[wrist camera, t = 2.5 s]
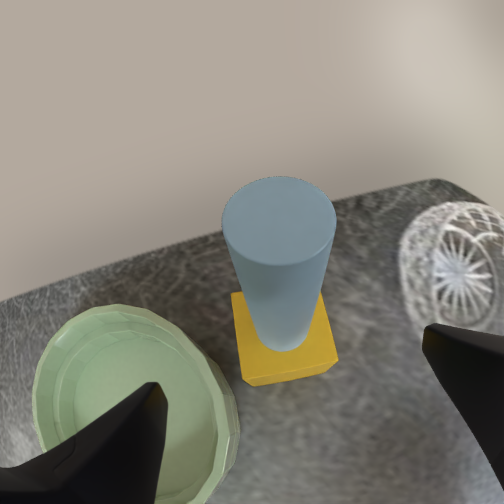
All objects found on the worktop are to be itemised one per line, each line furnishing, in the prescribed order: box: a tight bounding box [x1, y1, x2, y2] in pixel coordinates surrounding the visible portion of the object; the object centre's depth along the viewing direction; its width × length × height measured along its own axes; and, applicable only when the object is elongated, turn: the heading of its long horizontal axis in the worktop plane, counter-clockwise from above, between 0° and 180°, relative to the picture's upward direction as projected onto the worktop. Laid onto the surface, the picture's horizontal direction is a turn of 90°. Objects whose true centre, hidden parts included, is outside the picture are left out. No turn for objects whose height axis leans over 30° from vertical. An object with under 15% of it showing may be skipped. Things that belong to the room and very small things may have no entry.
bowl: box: [32, 304, 241, 504], centre depth 14 cm, size 15×15×4 cm
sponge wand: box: [222, 176, 338, 387], centre depth 12 cm, size 5×5×14 cm
